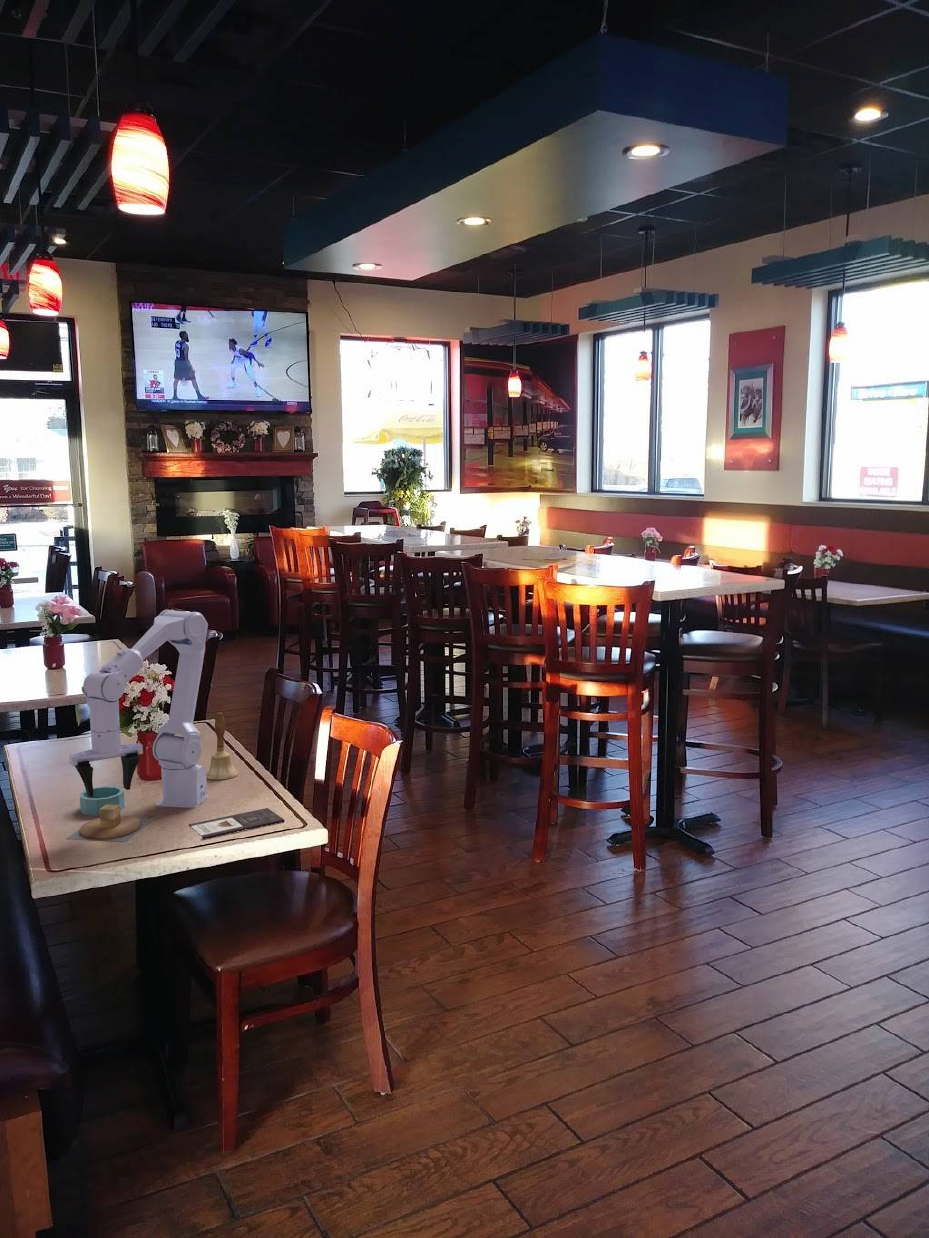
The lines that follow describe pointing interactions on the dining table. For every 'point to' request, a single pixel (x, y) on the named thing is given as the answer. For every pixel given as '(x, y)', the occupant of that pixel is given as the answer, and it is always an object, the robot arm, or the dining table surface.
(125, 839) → the mat
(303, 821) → the dining table surface
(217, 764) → the hand bell
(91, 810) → the bowl
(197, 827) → the chocolate bar
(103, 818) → the lid
